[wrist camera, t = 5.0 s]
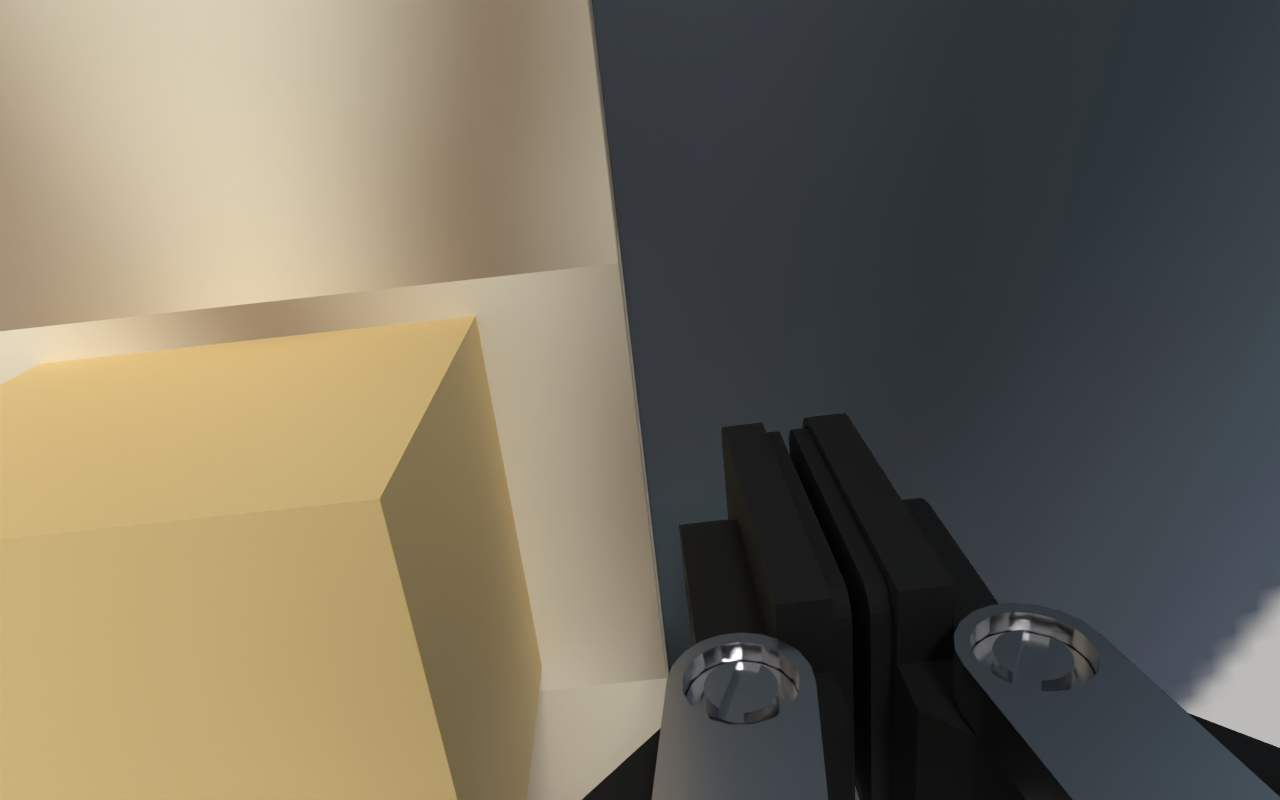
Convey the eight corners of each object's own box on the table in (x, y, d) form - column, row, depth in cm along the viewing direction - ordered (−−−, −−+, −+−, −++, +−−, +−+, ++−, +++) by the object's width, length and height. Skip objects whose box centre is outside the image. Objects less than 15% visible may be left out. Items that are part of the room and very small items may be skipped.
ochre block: (475, 315, 11) (378, 498, 7) (541, 667, 14) (504, 982, 9) (39, 364, 11) (-355, 576, 7) (179, 704, 14) (-41, 1035, 9)
